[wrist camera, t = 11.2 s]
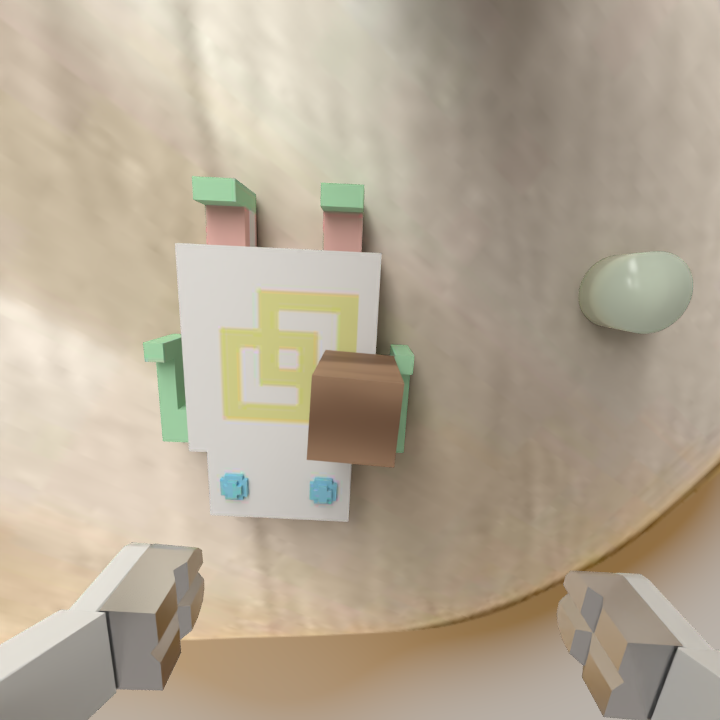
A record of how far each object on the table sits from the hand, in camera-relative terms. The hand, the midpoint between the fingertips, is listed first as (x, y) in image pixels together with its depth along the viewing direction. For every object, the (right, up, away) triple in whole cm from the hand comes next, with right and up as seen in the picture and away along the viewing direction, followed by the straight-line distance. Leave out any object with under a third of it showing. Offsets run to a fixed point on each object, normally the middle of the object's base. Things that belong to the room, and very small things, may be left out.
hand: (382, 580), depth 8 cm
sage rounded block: (+21, +11, +22) cm, 32 cm away
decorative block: (-7, +6, +24) cm, 26 cm away
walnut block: (-1, +3, +19) cm, 19 cm away
